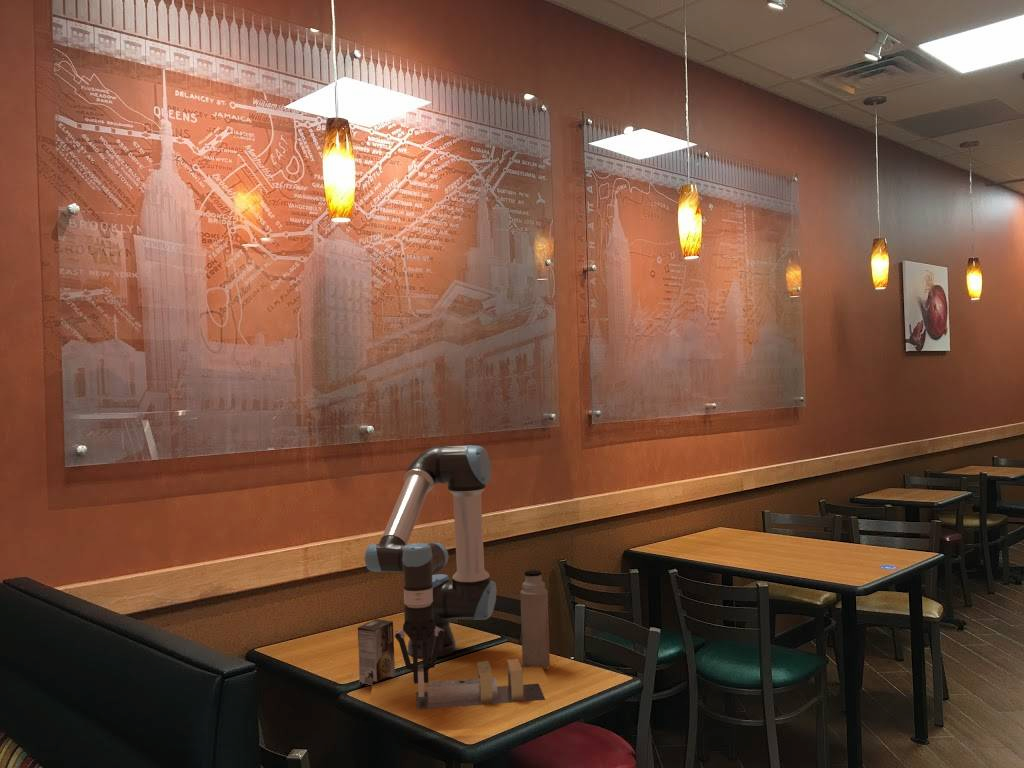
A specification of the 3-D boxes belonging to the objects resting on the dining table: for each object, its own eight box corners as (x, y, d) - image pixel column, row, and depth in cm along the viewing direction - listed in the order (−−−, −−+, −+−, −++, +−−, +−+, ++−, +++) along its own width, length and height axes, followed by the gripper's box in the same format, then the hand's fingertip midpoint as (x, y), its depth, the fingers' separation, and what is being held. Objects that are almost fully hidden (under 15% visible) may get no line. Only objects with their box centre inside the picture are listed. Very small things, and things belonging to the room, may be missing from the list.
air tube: (427, 697, 219) (427, 681, 219) (495, 692, 221) (495, 676, 221) (428, 702, 215) (427, 686, 215) (497, 697, 217) (496, 681, 217)
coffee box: (377, 674, 243) (375, 618, 243) (395, 676, 240) (394, 620, 240) (358, 684, 234) (356, 627, 235) (377, 687, 232) (375, 629, 232)
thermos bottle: (551, 662, 248) (548, 568, 248) (547, 672, 240) (544, 574, 240) (525, 661, 249) (522, 568, 249) (520, 671, 241) (517, 574, 242)
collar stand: (416, 698, 223) (415, 664, 223) (538, 689, 226) (537, 655, 226) (416, 715, 211) (415, 679, 211) (545, 705, 215) (544, 670, 215)
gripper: (392, 609, 213) (395, 702, 212) (444, 606, 214) (447, 698, 214) (393, 602, 220) (396, 691, 220) (443, 599, 221) (446, 688, 221)
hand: (421, 695), depth 217 cm, fingers closed
